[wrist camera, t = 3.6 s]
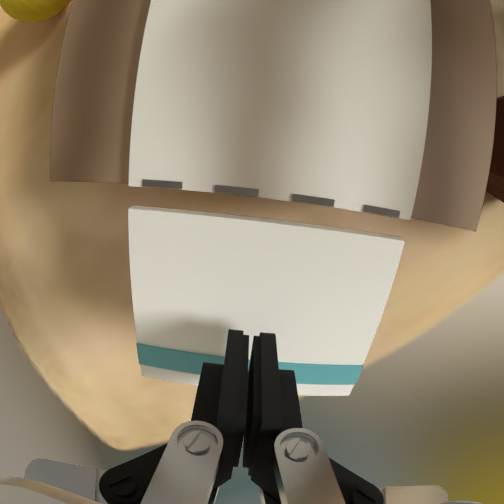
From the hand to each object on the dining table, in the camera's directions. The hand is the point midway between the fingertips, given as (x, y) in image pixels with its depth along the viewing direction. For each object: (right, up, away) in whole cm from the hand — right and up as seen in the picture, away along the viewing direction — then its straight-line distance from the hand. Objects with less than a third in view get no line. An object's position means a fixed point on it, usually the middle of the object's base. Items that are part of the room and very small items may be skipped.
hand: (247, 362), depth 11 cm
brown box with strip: (+2, +17, +6) cm, 18 cm away
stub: (0, +1, +1) cm, 2 cm away
